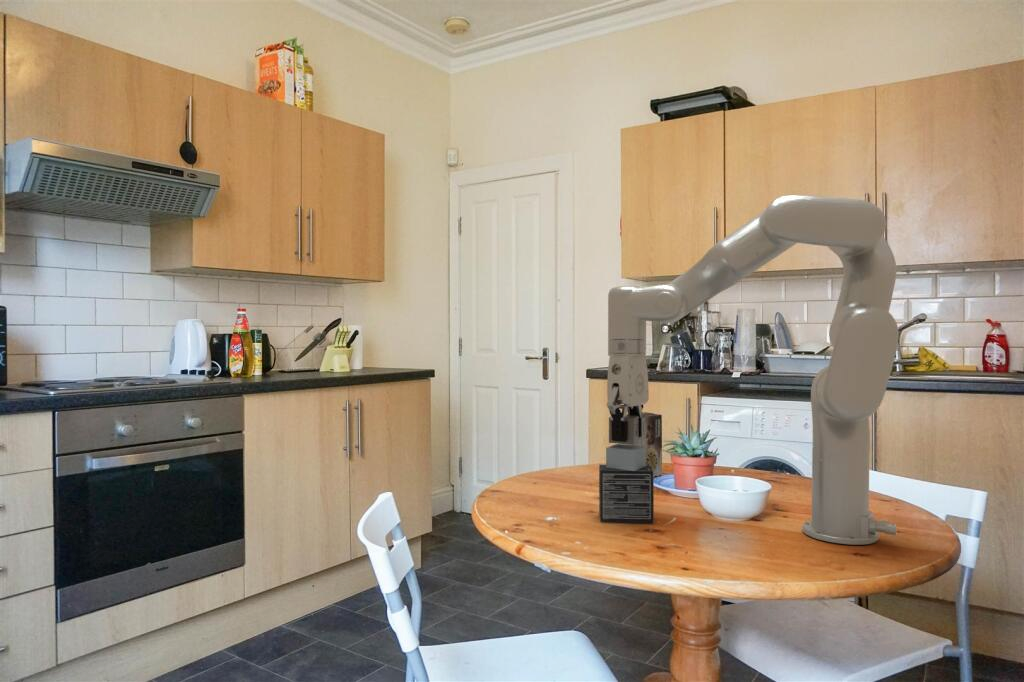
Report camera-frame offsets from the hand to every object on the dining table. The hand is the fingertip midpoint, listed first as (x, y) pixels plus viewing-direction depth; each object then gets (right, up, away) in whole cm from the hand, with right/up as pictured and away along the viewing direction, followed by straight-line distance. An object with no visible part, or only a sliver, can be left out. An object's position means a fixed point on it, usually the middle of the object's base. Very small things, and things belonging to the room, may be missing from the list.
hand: (626, 438), depth 135 cm
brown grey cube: (0, -1, 0) cm, 1 cm away
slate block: (0, -6, 0) cm, 6 cm away
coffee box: (+11, -16, +40) cm, 45 cm away
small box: (0, -16, 0) cm, 16 cm away
